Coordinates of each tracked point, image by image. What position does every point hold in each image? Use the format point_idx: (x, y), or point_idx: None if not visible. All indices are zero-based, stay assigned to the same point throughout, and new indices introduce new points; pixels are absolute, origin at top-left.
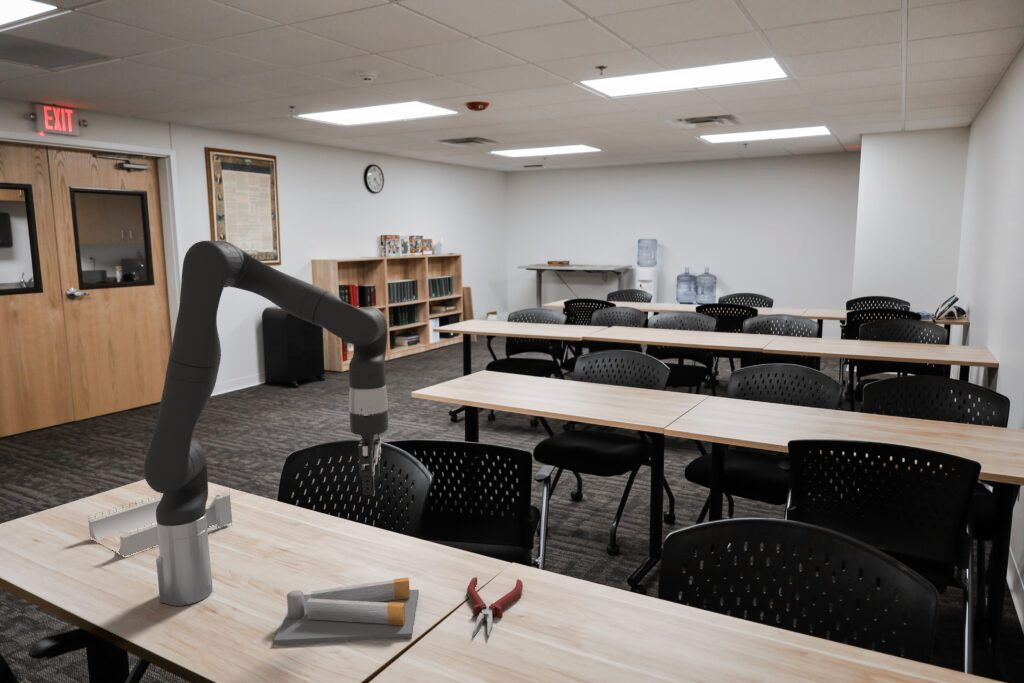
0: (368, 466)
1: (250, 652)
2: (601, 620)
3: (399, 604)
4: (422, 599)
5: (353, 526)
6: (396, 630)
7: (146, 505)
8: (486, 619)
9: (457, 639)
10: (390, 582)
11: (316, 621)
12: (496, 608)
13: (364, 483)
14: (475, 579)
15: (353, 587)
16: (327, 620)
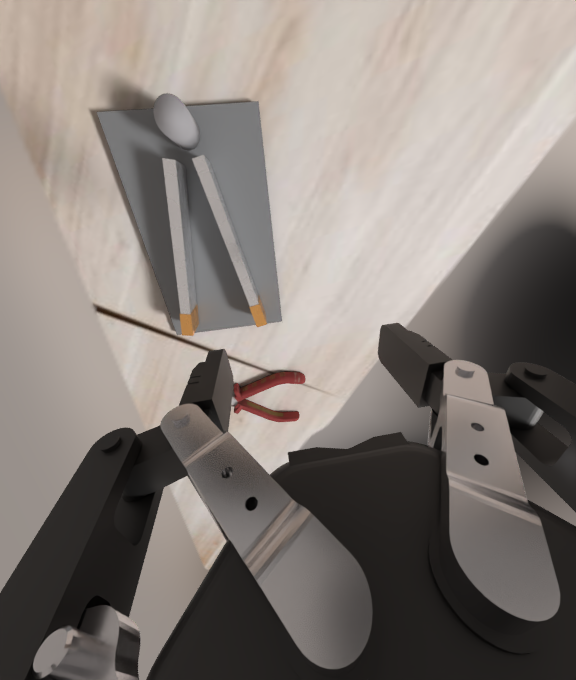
0: (413, 353)
1: (63, 64)
2: None
3: (187, 329)
4: (268, 326)
5: (544, 142)
6: (179, 316)
7: None
8: None
9: (188, 376)
10: (250, 301)
11: None
12: (236, 409)
13: (185, 393)
14: (296, 383)
15: (228, 243)
16: None
